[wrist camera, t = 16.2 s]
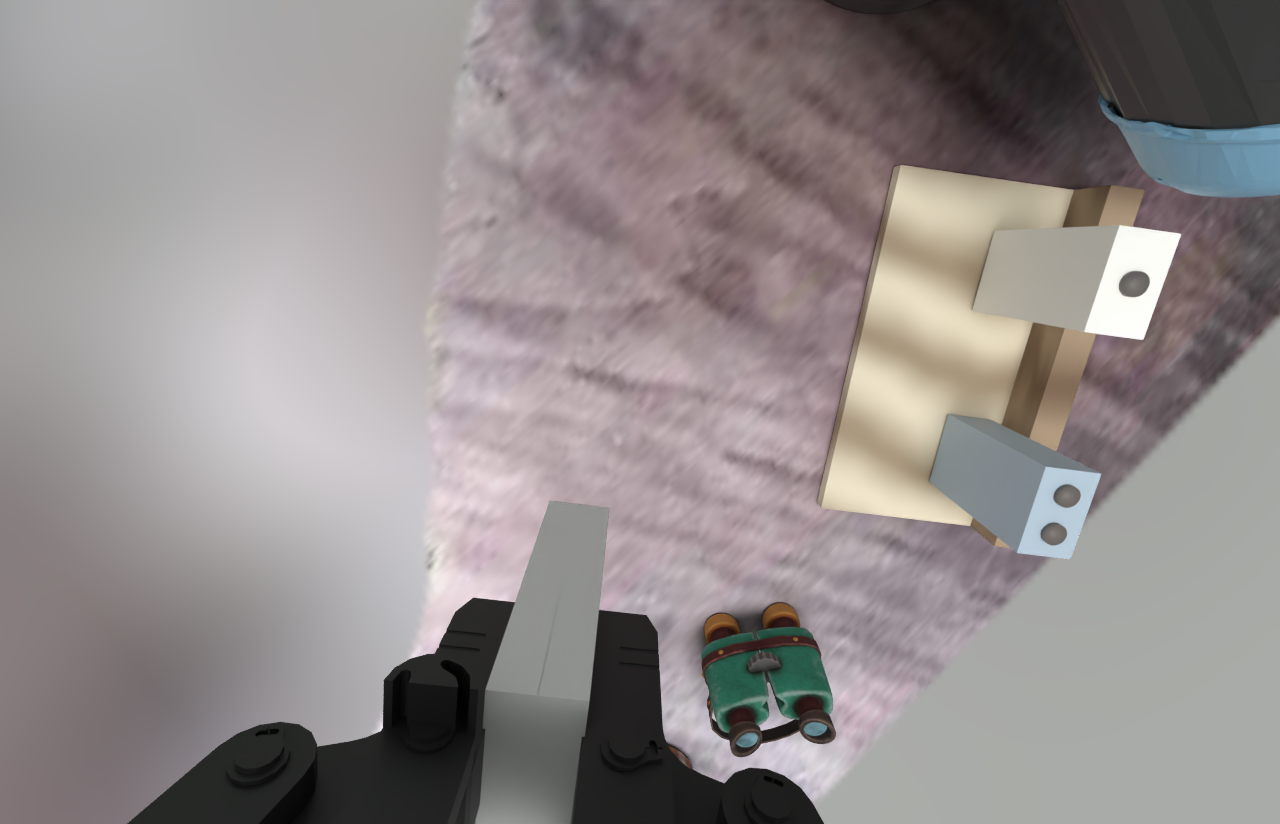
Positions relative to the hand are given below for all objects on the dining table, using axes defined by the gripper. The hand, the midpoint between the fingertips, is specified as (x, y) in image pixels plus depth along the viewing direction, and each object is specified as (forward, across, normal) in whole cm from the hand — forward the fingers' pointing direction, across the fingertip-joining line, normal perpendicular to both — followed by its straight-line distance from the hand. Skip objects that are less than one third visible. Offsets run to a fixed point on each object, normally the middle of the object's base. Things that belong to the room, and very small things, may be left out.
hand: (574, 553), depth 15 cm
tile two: (+25, +25, -3) cm, 35 cm away
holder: (+26, +22, +3) cm, 35 cm away
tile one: (+25, +24, +9) cm, 36 cm away
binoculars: (+27, +14, -22) cm, 37 cm away
